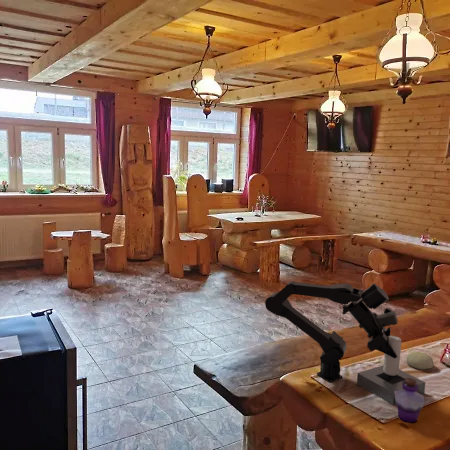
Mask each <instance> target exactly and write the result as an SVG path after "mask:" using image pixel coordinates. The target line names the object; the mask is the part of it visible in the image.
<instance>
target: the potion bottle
mask: <svg viewBox="0 0 450 450" xmlns="http://www.w3.org/2000/svg"><path fill="white" fill-rule="evenodd" d="M402 387H403V389H400V390H397V391H394V392H395V403H396V404H395V406H396V407H397V418H398V417H399V418H400V419H399V418H398V419H399V420H400V421H402V422H404V423H406V424H415V423H418V419H419V416H420V412H421V411H422V410H423V407H424V404H425V397H424V394H422V395H421V394H419V393H417V392H415V391H418V384H417V383H416V380H415V379H413V378H406V379H405V381H403V382H402Z"/></svg>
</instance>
